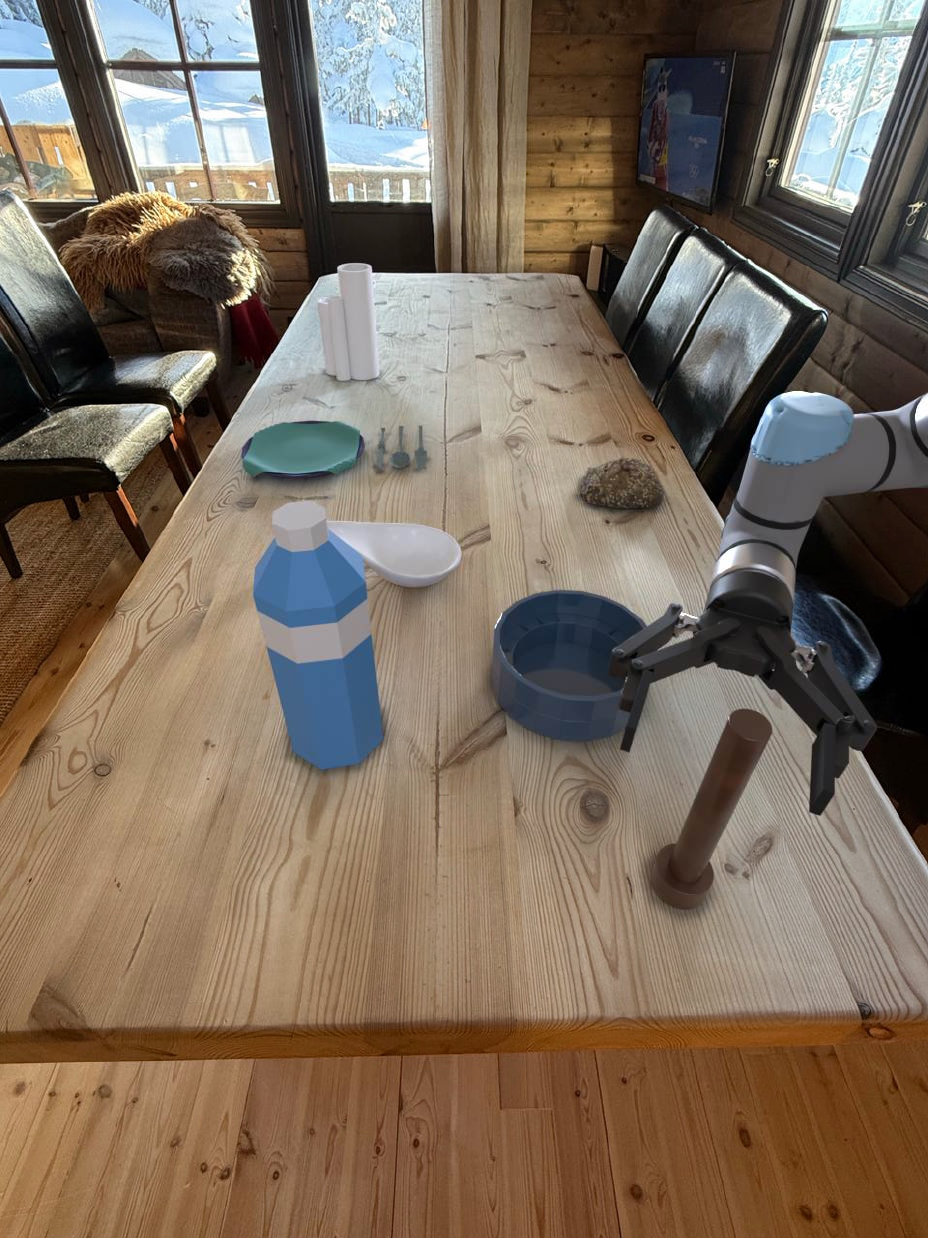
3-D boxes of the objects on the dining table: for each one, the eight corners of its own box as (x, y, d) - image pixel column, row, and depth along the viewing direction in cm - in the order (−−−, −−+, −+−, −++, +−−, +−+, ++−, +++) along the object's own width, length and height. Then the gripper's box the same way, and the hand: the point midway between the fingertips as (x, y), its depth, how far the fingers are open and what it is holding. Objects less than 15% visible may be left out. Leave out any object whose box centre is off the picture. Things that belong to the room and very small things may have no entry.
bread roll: (665, 515, 96) (672, 485, 93) (579, 509, 97) (584, 479, 94) (656, 472, 106) (663, 444, 102) (579, 467, 107) (583, 439, 103)
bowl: (671, 677, 71) (685, 633, 67) (593, 773, 62) (603, 728, 57) (546, 615, 79) (551, 571, 75) (460, 691, 69) (460, 646, 65)
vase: (381, 368, 139) (373, 263, 126) (377, 381, 133) (369, 272, 120) (328, 367, 139) (315, 262, 126) (321, 380, 133) (307, 271, 120)
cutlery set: (255, 431, 116) (253, 418, 114) (426, 428, 117) (425, 416, 115) (231, 488, 101) (228, 475, 99) (427, 484, 102) (427, 471, 100)
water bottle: (311, 690, 69) (266, 477, 53) (396, 704, 68) (378, 490, 52) (274, 761, 62) (210, 542, 46) (368, 778, 61) (336, 558, 45)
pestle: (714, 880, 54) (798, 720, 41) (691, 921, 51) (773, 765, 38) (665, 848, 56) (730, 687, 43) (641, 886, 53) (701, 727, 40)
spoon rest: (458, 546, 90) (458, 500, 85) (464, 600, 81) (465, 552, 76) (282, 551, 88) (273, 504, 84) (268, 607, 79) (257, 559, 75)
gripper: (877, 667, 61) (888, 862, 46) (613, 597, 69) (551, 746, 54) (914, 604, 56) (940, 801, 41) (626, 537, 64) (560, 683, 49)
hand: (720, 770), depth 48 cm, fingers open, 13 cm apart
